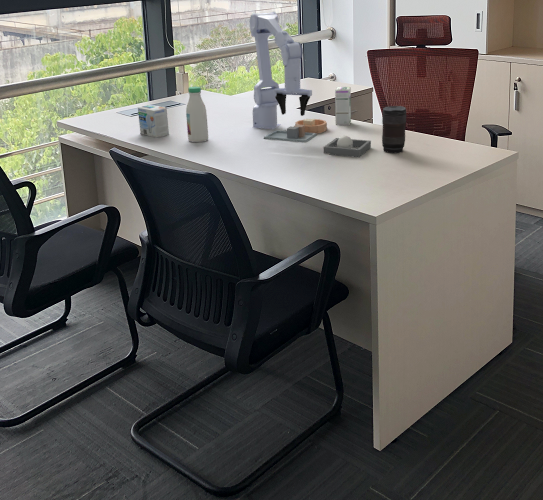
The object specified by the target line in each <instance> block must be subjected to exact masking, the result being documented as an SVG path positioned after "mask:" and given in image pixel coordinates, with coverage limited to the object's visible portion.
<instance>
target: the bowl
mask: <svg viewBox="0 0 543 500" xmlns="http://www.w3.org/2000/svg"><path fill="white" fill-rule="evenodd" d="M314 119H315V126H305V132H307V133H316V134H321V133H324V132H326V131H327V129H328V128H327V127H328V126H327V125H328V124H327V123H328V122H327V121H326V120H323V119H320V118H319V119H316V118H314ZM303 120H305V118H304V119H300V120H297V121H295V122H294V124H295V125H303ZM295 125H294V126H295Z"/></svg>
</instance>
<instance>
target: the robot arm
mask: <svg viewBox="0 0 543 500" xmlns="http://www.w3.org/2000/svg"><path fill="white" fill-rule="evenodd" d="M249 29H250V30H249V31H250V35H251V36H252V37H253V38H254V42H255V49H256V59H257V66H258V67H257V68H258V76H259V81H258V82H257V83H256V84H255V85H254V86H253V99H254V103H255V105H254V106H253V108H252V128H254V129H255V128H257V129H268V130H274V129H276V128H278V127H280V126H281V125H282V124H281V123H278V107H279V108H280V112H281V115H286V113H287V110H286V107H287V106H286V103H287V95H288V96H299V97H298V99H299V105H300V116H301V117H303V116H305V113H306V110H307V105H308V102H309V101H310V98H311V96H312V95H313V90H312V89H305V88H304V89H303V88H301V59H302V57H303V54H304V49H303V48H304V47H303V46H302V43H301V42H300V41H294V39H293V38H292V36H291V35H290V34H289V33H288V31H287V30H283V29H282V27H281V25H280V24H279V15H278V14H277V12H276V11H269V12H253V13H251V15H250V17H249ZM271 35H272V36H273V37H274V40H273V41H274V43H275V44H276V46H277V47H278V48H279V50H280V55H281V59H282V64H283V66H284V69H283V70H284V71H283V72H284V73H283V74H284V76H283V77H284V87H282V88H280V86H279V83H278V82H277V81H275V80H274V79H273V75H272V67H271V66H272V65H271V57H270V56H271V55H270V48H269V41H268V40H269V37H270V36H271ZM277 106H278V107H277Z"/></svg>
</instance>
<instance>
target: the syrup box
mask: <svg viewBox="0 0 543 500" xmlns="http://www.w3.org/2000/svg"><path fill="white" fill-rule="evenodd" d="M351 90H352V89H351V87H350V86H338V87H336V89H335V91H334V95H335V97H334V99H335V100H334V101H335V102H334V104H335V106H334V107H335V109H334V110H335V111H334V113H335V115H334V116H335V118H334V119H335V126H344V127H345V126H351V125H350V124H351V122H352V119H351V118H352V117H351V116H352V111H351V110H352V105H351V103H352V102H351V101H352V99H351V98H352V97H351V96H352V95H351Z"/></svg>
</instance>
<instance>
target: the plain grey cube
mask: <svg viewBox="0 0 543 500" xmlns="http://www.w3.org/2000/svg"><path fill="white" fill-rule="evenodd" d="M286 131H287V138H292V139H298V138H299V127H294V126H288V127H287V128H286Z"/></svg>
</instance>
